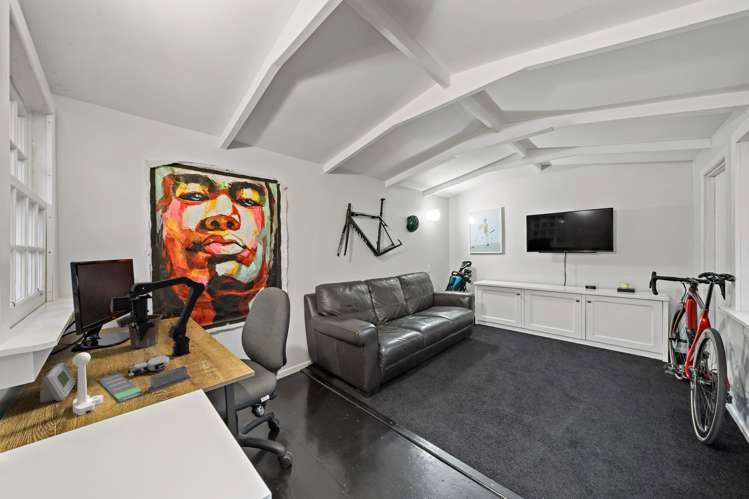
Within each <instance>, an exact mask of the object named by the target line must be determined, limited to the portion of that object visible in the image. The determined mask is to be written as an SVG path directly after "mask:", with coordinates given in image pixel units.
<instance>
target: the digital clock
mask: <svg viewBox="0 0 749 499" xmlns="http://www.w3.org/2000/svg"><path fill="white" fill-rule="evenodd" d="M42 381H43V383H44V384H45V385H44V386H43V388H42V389H41V390H40V393H39V394H40V395H39V396H40V397H39V398H40V400H39V401H40V403H46V402H50V401H55V400H56V402H61V401H63V400H64V399H66V397H67V396H68V395H69V393H71V390H72V389H73V388H74V386H75V385H76V379H75V378H74V377H73V374H72V373H71V371H70V369H69V368H68V367H67V365H66V364H65V362H59V363H57V364H55V365H54V366H53V367H52V368H51V369H50V370H49V371H48V373H47V374H46V375H45V376H44V377H43V378H42Z"/></svg>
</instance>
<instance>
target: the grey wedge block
mask: <svg viewBox="0 0 749 499" xmlns="http://www.w3.org/2000/svg"><path fill="white" fill-rule="evenodd" d="M188 380H191V375H188V367H187V366H185V365H182V366H180V367H177V368H173V369H170V370H167V371H163V372H161V373H158V374H155V375H152V376H150V386H149V387H147V391H148V392H150V393H154V392H156V391H157V392H158V391H159V390H160V391H161V390H163V389H166V388H168V387H170V386H174V385H176V384H179V383H182V382H185V381H188Z"/></svg>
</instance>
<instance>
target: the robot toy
mask: <svg viewBox="0 0 749 499" xmlns="http://www.w3.org/2000/svg"><path fill="white" fill-rule="evenodd" d="M169 364H170V357H168V356H167V355H166V354H163V355H160V356H157V357H153V358H150V359H149V360H148V361H147V362H146V361H143V362H139V363H136V364H132V365H131V366H129V367H127V369H128V371H127V374H128V377H133V376H138V375H141V374H143V373H146V372H147V371H148V370H149V371H155V372H156V371H162V370H163V369H165V368H166V367H167V366H168V365H169Z"/></svg>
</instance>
